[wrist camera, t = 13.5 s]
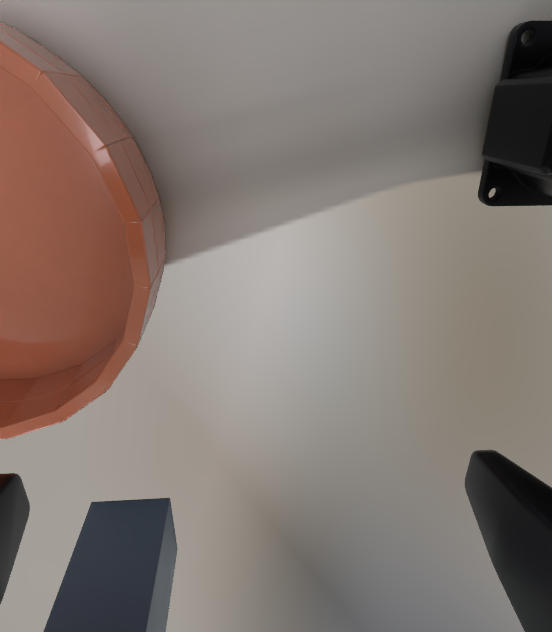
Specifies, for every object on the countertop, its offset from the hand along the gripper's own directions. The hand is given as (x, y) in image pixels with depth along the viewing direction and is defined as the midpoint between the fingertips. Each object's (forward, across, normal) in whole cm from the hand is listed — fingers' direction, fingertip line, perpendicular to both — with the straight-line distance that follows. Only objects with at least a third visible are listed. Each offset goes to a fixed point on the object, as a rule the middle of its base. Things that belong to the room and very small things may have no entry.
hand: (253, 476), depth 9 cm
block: (+12, +7, +16) cm, 21 cm away
